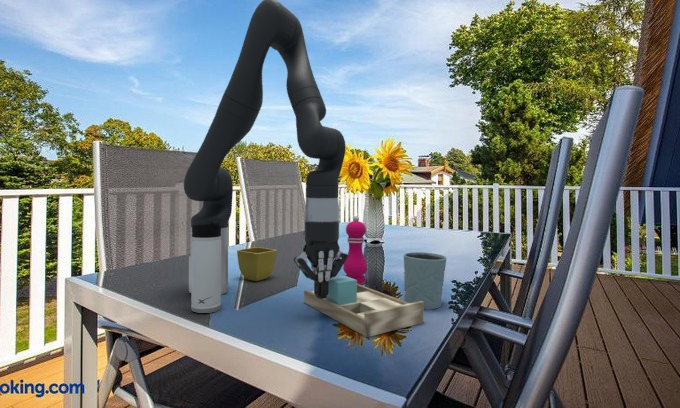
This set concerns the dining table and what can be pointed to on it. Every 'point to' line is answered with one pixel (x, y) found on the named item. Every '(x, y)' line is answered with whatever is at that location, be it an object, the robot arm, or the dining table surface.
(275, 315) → the dining table surface
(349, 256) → the pepper mill
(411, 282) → the grey green cup
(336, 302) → the teal block
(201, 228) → the travel mug
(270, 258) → the flower pot
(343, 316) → the tray
